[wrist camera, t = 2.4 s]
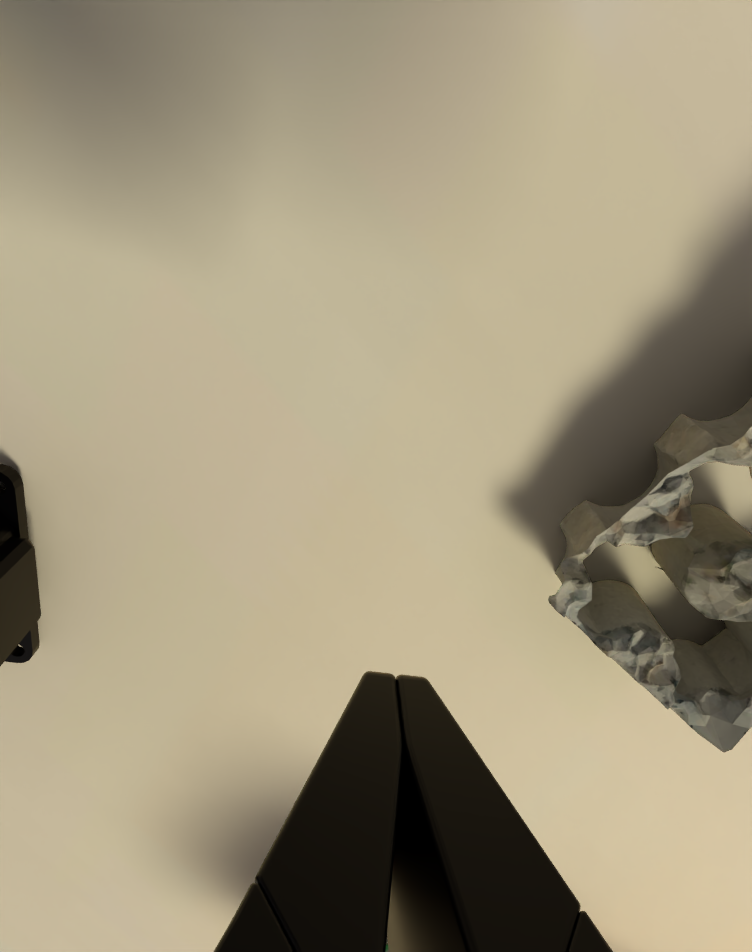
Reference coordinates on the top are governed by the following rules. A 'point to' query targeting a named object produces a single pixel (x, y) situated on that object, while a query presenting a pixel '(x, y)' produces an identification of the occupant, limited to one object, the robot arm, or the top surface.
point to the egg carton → (675, 581)
